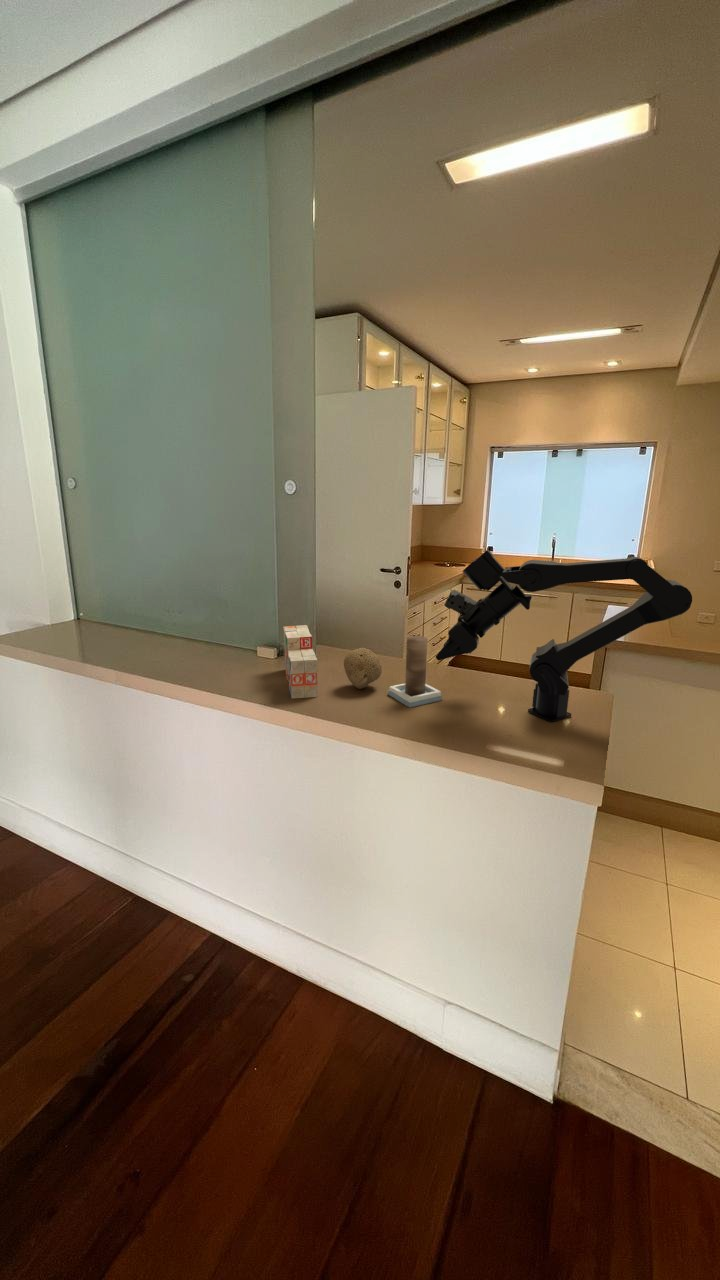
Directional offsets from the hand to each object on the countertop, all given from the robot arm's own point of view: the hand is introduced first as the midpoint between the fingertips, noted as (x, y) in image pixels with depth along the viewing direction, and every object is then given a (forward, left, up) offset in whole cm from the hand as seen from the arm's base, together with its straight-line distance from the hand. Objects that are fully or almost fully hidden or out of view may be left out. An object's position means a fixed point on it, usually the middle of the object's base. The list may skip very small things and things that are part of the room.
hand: (440, 652), depth 114 cm
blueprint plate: (+4, +4, -11) cm, 13 cm away
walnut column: (+4, +4, -10) cm, 12 cm away
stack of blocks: (+26, +23, -12) cm, 37 cm away
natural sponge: (+15, +11, -12) cm, 22 cm away
